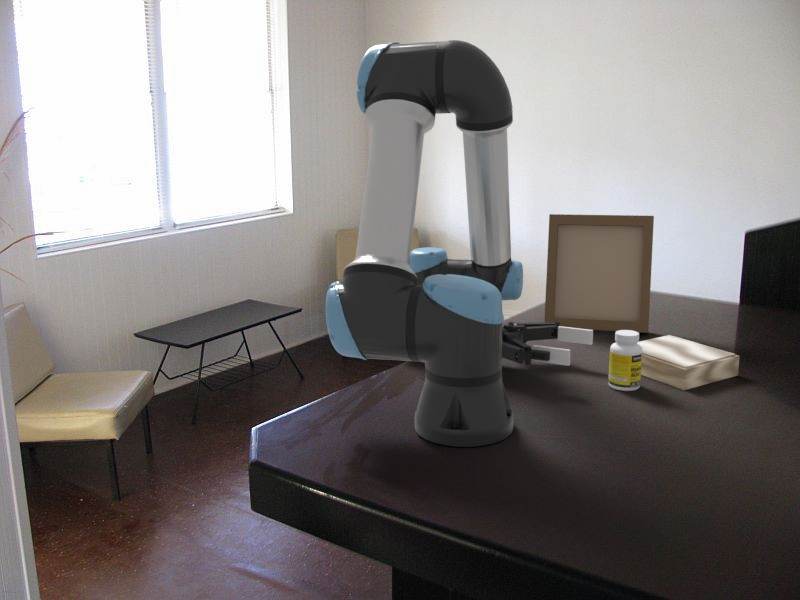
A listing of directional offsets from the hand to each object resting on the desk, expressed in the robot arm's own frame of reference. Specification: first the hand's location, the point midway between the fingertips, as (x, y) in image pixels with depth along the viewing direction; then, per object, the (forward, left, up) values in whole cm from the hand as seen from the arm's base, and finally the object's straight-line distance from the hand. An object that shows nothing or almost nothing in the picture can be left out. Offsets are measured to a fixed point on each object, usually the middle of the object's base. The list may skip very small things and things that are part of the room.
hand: (581, 347), depth 142 cm
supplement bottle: (+4, -7, -6) cm, 10 cm away
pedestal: (+18, -6, -6) cm, 20 cm away
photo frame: (+28, +25, -6) cm, 38 cm away
